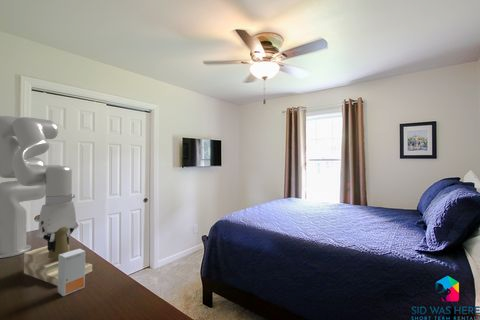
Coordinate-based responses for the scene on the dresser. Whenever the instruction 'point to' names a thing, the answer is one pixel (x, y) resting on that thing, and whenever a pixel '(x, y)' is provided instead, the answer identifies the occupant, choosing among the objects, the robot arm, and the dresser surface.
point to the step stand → (44, 265)
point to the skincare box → (71, 271)
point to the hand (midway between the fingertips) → (58, 248)
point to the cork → (59, 243)
